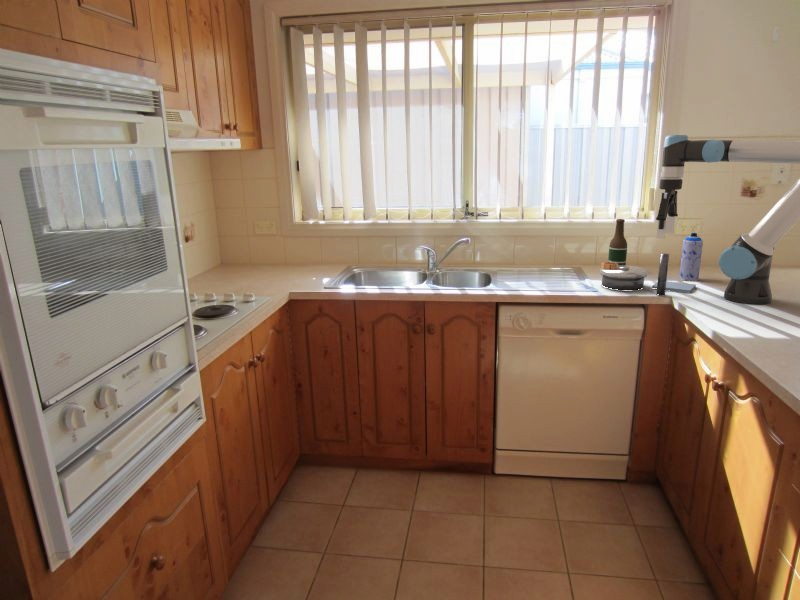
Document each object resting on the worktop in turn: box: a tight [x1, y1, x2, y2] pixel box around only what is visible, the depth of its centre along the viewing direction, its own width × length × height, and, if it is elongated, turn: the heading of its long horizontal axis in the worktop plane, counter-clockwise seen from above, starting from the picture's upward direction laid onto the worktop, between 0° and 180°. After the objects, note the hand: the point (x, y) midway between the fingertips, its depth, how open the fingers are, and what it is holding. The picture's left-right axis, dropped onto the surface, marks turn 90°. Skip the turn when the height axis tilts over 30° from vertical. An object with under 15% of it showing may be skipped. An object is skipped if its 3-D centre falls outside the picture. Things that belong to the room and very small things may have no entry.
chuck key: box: [656, 252, 670, 296], centre depth 215 cm, size 3×3×16 cm
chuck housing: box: [601, 275, 645, 290], centre depth 230 cm, size 16×16×5 cm
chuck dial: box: [599, 261, 649, 279], centre depth 229 cm, size 18×18×4 cm
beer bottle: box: [607, 218, 628, 266], centre depth 258 cm, size 8×8×24 cm
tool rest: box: [651, 280, 697, 294], centre depth 227 cm, size 14×12×1 cm
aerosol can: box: [678, 232, 704, 281], centre depth 240 cm, size 8×8×20 cm
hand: (665, 235), depth 212 cm, fingers open, 13 cm apart
